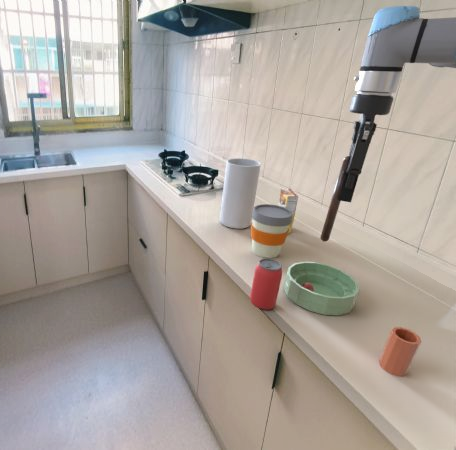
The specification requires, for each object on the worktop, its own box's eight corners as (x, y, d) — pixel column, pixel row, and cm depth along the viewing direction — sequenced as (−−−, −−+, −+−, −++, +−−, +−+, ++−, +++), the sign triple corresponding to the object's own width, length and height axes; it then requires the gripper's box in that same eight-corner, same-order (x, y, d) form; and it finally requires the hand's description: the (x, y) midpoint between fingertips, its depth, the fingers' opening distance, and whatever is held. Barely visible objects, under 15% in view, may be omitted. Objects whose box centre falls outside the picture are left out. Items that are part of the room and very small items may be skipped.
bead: (309, 291, 94) (298, 292, 93) (309, 280, 93) (298, 281, 93) (315, 296, 90) (304, 297, 90) (316, 284, 90) (304, 285, 90)
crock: (403, 364, 71) (418, 331, 68) (407, 381, 67) (423, 347, 64) (377, 356, 73) (390, 324, 69) (379, 372, 69) (393, 339, 65)
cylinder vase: (213, 218, 140) (220, 159, 130) (239, 215, 144) (247, 157, 134) (230, 231, 129) (238, 167, 119) (257, 227, 134) (267, 165, 123)
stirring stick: (328, 240, 87) (354, 155, 77) (327, 243, 85) (354, 157, 76) (320, 238, 88) (344, 154, 78) (319, 241, 86) (344, 155, 77)
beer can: (244, 301, 89) (251, 262, 84) (258, 292, 93) (266, 254, 88) (265, 314, 85) (274, 273, 80) (280, 304, 89) (289, 265, 84)
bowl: (350, 289, 96) (356, 271, 94) (354, 326, 82) (361, 306, 79) (287, 273, 103) (290, 256, 100) (279, 305, 88) (284, 285, 86)
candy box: (273, 223, 138) (280, 188, 131) (284, 224, 137) (291, 188, 131) (279, 233, 129) (287, 195, 123) (291, 233, 129) (299, 196, 123)
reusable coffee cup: (269, 264, 107) (277, 221, 101) (238, 248, 117) (244, 208, 110) (292, 254, 114) (301, 213, 108) (261, 240, 123) (268, 201, 117)
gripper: (351, 91, 79) (327, 188, 88) (355, 94, 66) (326, 206, 76) (389, 93, 76) (359, 193, 86) (400, 96, 63) (364, 212, 73)
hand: (344, 199), depth 81 cm, fingers closed on stirring stick, 2 cm apart
